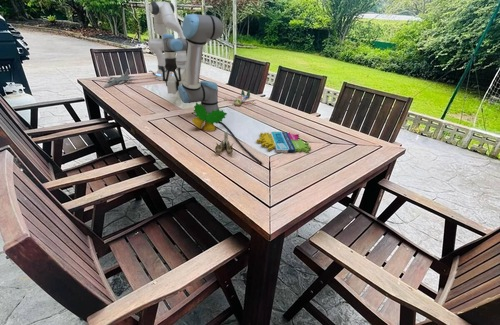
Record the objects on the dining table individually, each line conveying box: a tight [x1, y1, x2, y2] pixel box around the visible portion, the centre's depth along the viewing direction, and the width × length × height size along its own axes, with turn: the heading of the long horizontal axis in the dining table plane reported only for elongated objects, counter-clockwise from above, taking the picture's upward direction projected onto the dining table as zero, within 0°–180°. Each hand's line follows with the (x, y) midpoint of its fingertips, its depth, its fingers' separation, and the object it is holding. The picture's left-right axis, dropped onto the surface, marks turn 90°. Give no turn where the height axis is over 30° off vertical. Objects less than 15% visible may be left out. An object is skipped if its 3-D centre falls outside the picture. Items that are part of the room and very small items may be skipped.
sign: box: [256, 131, 312, 154], centre depth 152 cm, size 26×2×30 cm
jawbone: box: [214, 131, 234, 156], centre depth 136 cm, size 9×15×10 cm
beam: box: [166, 69, 186, 95], centre depth 217 cm, size 59×6×8 cm, turn 4°
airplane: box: [102, 68, 138, 88], centre depth 247 cm, size 38×31×10 cm
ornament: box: [191, 102, 228, 132], centre depth 162 cm, size 21×8×15 cm, turn 105°
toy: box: [223, 89, 257, 106], centre depth 219 cm, size 28×7×30 cm
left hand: (182, 74), depth 237 cm, fingers closed on beam, 5 cm apart
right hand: (173, 90), depth 198 cm, fingers closed on beam, 6 cm apart
